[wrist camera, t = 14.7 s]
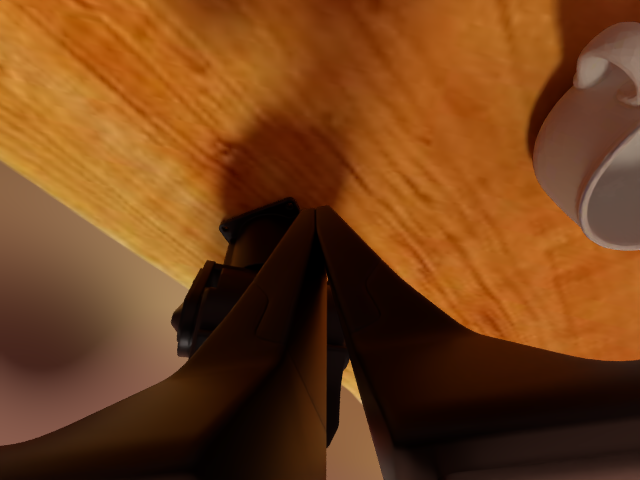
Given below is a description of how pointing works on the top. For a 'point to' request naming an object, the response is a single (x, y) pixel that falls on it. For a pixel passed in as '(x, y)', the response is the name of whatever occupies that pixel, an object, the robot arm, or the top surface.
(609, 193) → the teacup
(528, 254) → the top surface
